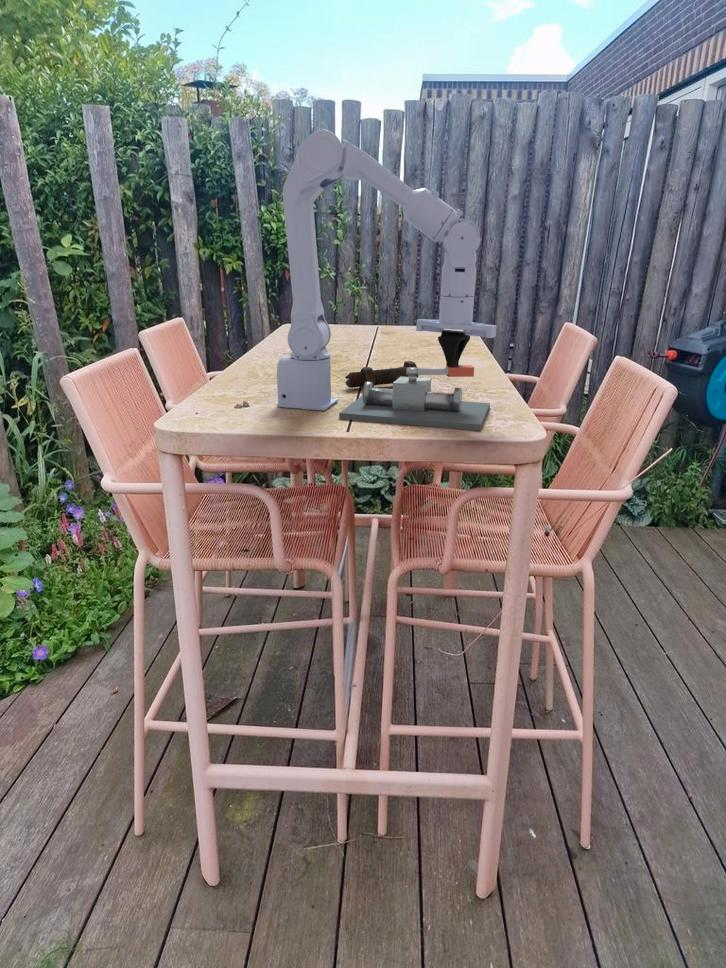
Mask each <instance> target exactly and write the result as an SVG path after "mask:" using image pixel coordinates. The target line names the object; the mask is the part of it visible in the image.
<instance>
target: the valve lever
mask: <svg viewBox="0 0 726 968" xmlns="http://www.w3.org/2000/svg"><path fill="white" fill-rule="evenodd" d="M406 374H407V375H412V376H414V375H418V376H446V375H447V376H446V377H448V378H460V377H461V378H466V377H467V378H469V377H471V378H472V377H475V367H474V365H472V364H463V365H462V364H460V365H447V367H446V366H445V367H444V366H442V367H440V366H438V367H433V366H432V367H431V366H429V367H417V368H416V367H409V368H407V371H406Z"/></svg>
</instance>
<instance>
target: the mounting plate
mask: <svg viewBox="0 0 726 968" xmlns="http://www.w3.org/2000/svg"><path fill="white" fill-rule="evenodd" d="M490 407H491V403H490V402H482V401H481V402H479V401H466V400H462V402H461V408H460V411H447V410H435V409H426V411H425V412H411V411H399V410H392V406H383V405H369V404H364V403H363V394H362V395H361V396H360V397H358V398H357V399H355V401H353V402H352V403H350V404H349V405H348V406H346V407H345V408H343V410H341V411H340V412H339V413H338V419H340V420H349V421H350V420H353V421H361V422H362V421H364V422H377V423H386V424H399V425H409V426H410V425H412V426H420V427H421V426H422V427H434V428H444V429H445V428H446V429H457V430H468V431H477V432H478V431H481V430H482V427H483V425H484V423H485V421H486V418H487V415H488V414H489V411H490V409H491V408H490Z"/></svg>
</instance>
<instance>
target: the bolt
mask: <svg viewBox="0 0 726 968" xmlns="http://www.w3.org/2000/svg"><path fill="white" fill-rule="evenodd" d="M409 367H416V368H418V366H417V364H416V362H414V361H411V360H407V361H404V362H403V365H402V366H399V367H394V368H393V367H392V368H384V369H383V368H381V369H373V368H372V367H369V366H364V367H362V368H361V369H360V371H352V372H349V373H348V374H347V375H346V376H345V377H344V378H345V379H346V381H345V385H346V386H347V387H348V388H349V389H352V388H353V389H354V388H362V389H363V387H364V384H365V382H373V384H374V387H375V386H380V385H393V382H395V381H396V380H397V379H398V378H399V377H409V375H407V374H406V371H407V368H409ZM417 378H419V375H417Z"/></svg>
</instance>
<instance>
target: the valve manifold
mask: <svg viewBox="0 0 726 968" xmlns="http://www.w3.org/2000/svg"><path fill="white" fill-rule="evenodd" d="M431 390H432V378H428V377H418V378H417V375H414V376H412V375H409V377H399V378H398V379H397V380H396V381H395V382H393V384H392V388H384V387H383V388H382V387H381V388H379V387H375V386H374V384H373V382H365V384H364V387H363V388H362V395H363V403H364V404H369V405H383V406H392V410H399V411H411V412H425V411H426V409H435V410H447V411H460V408H461V402H462V401H463V388H462V387H455V388H454V389H453V393H452V392H441V391H440V392H439V391H437V392H436V391H431Z"/></svg>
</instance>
